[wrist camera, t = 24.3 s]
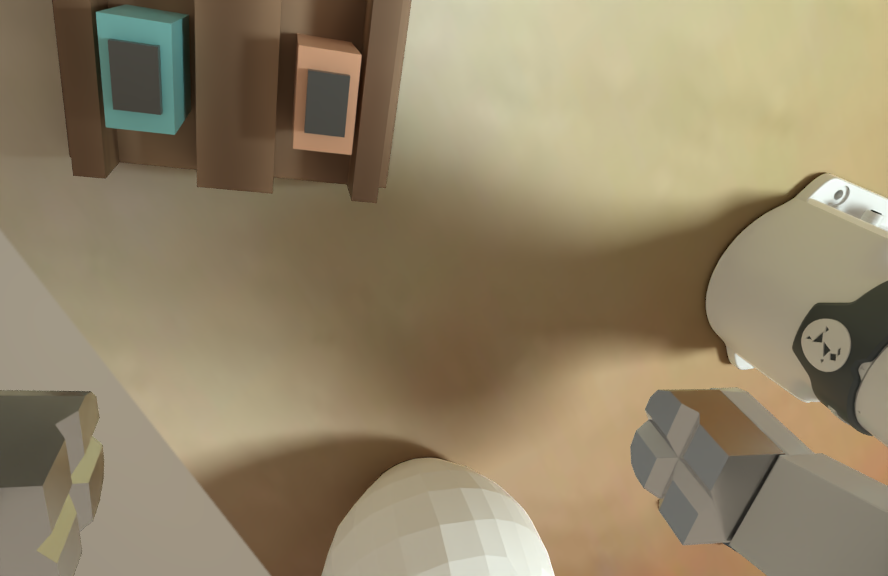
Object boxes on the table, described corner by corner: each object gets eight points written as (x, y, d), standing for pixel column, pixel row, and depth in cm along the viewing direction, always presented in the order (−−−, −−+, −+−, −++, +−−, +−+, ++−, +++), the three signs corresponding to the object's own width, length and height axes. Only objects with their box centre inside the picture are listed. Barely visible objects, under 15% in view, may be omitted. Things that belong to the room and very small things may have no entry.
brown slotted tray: (409, -18, 34) (424, -16, 30) (382, 180, 39) (392, 204, 35) (52, -90, 29) (16, -99, 25) (77, 150, 34) (51, 173, 30)
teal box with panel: (189, 14, 31) (169, 24, 26) (191, 110, 33) (173, 137, 28) (125, 4, 30) (92, 12, 25) (132, 103, 32) (102, 129, 27)
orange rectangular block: (351, 42, 33) (362, 56, 28) (343, 129, 35) (352, 157, 30) (297, 33, 32) (298, 46, 27) (292, 123, 35) (293, 151, 29)
